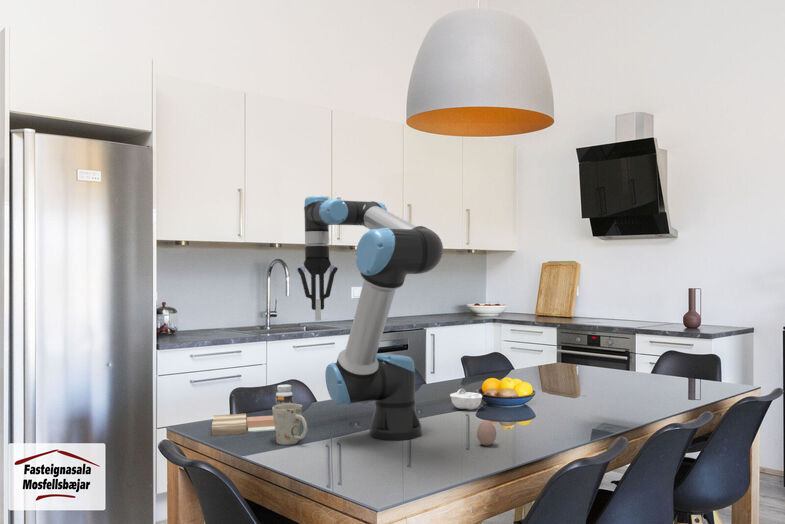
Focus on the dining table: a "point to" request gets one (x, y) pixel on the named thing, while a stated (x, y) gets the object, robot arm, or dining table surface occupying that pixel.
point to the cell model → (466, 399)
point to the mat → (261, 429)
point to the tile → (260, 421)
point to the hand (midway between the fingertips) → (318, 320)
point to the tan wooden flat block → (229, 424)
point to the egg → (486, 433)
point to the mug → (288, 423)
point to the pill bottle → (284, 394)
